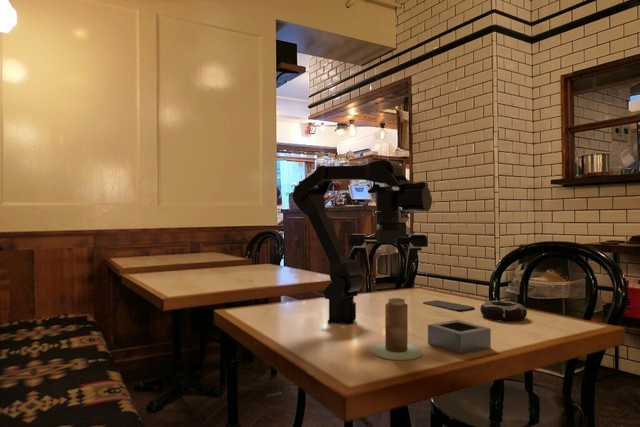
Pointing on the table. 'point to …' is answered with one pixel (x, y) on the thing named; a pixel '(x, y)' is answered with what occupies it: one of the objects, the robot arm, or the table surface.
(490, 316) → the donut
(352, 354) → the table surface
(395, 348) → the pepper mill
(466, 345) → the box
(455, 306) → the smartphone
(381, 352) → the coaster
